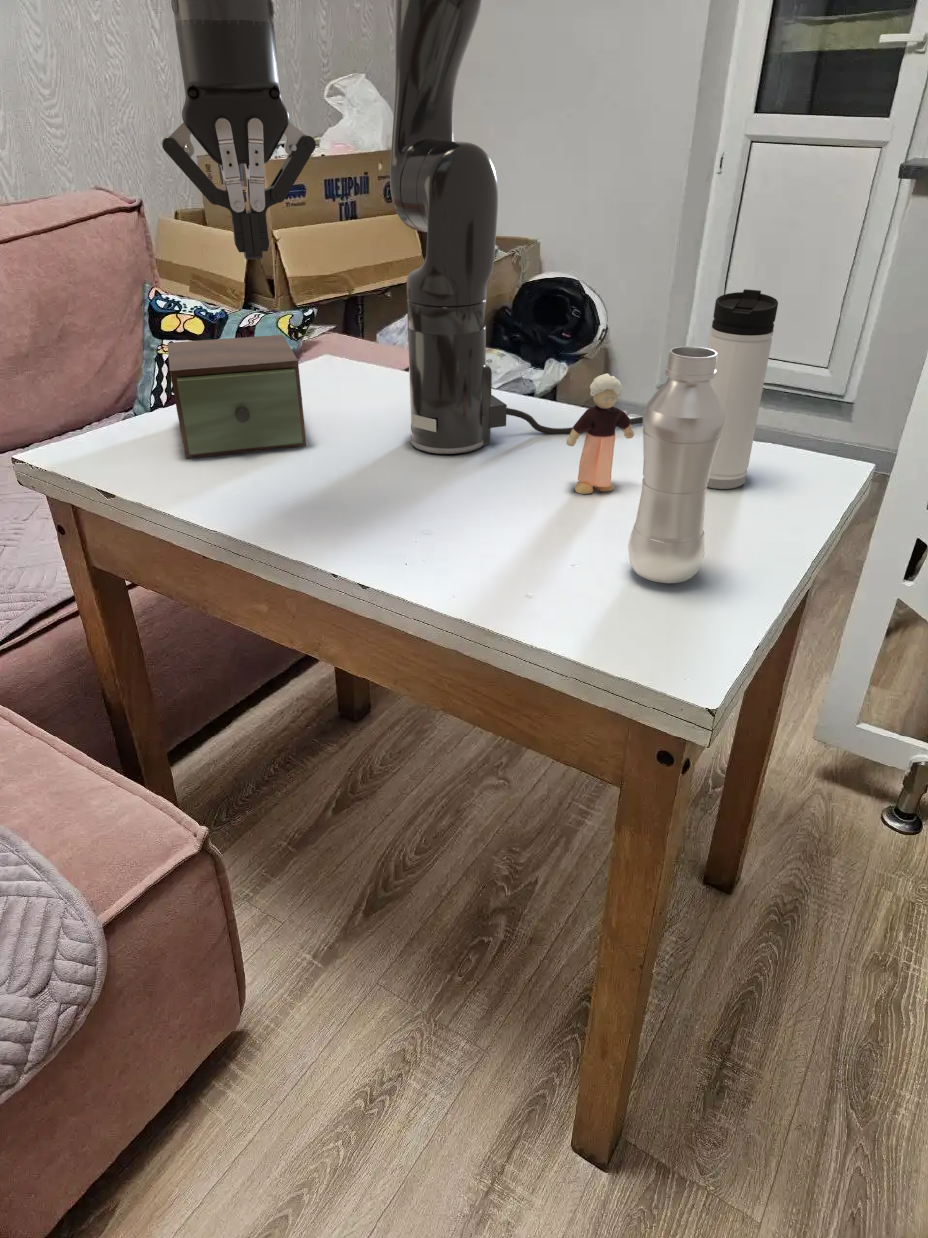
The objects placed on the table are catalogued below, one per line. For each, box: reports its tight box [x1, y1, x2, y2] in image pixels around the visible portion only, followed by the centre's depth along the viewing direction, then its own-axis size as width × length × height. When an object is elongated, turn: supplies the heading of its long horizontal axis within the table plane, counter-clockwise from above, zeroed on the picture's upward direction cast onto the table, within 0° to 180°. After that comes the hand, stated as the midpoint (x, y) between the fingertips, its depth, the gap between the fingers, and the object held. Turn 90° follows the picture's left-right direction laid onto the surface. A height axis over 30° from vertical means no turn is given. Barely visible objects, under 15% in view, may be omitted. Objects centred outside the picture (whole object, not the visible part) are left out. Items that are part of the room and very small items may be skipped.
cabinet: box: [166, 334, 308, 460], centre depth 106 cm, size 14×15×11 cm
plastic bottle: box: [627, 346, 725, 584], centre depth 72 cm, size 6×7×20 cm
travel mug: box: [707, 288, 779, 490], centre depth 91 cm, size 6×7×20 cm
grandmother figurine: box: [565, 373, 635, 495], centre depth 91 cm, size 8×4×13 cm, turn 117°
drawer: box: [177, 368, 302, 454], centre depth 104 cm, size 14×13×9 cm
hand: (253, 257), depth 75 cm, fingers closed
